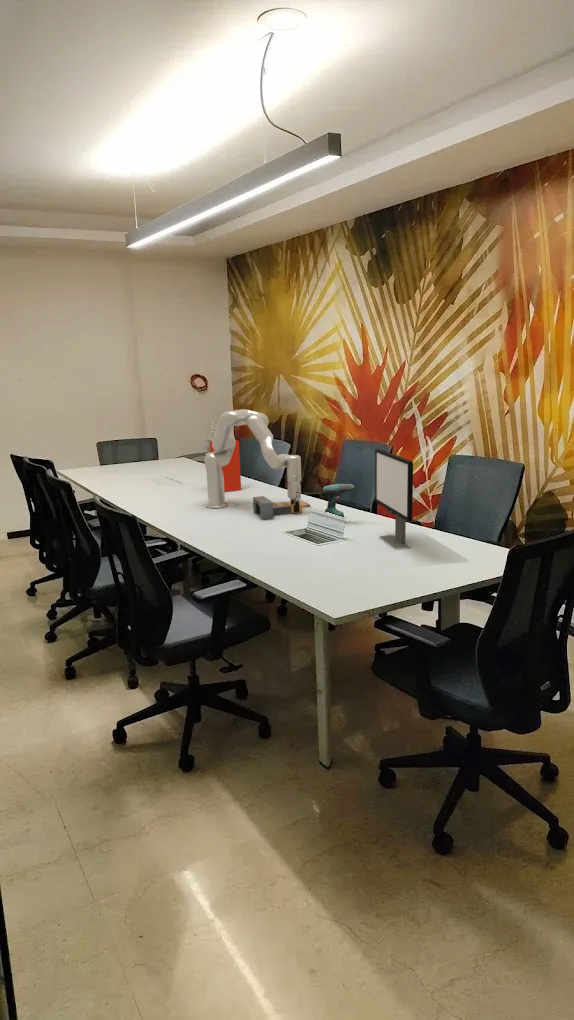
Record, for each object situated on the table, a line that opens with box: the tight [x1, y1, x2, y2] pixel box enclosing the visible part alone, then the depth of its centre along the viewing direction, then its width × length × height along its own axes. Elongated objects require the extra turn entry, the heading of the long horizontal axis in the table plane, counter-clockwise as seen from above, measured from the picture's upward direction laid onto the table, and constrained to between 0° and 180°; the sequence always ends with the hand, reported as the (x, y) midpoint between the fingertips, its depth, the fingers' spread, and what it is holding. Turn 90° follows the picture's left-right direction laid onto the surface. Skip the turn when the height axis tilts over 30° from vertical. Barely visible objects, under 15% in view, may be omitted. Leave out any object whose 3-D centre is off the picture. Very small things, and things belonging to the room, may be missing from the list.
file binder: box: [208, 439, 242, 493], centre depth 419 cm, size 8×17×32 cm, turn 111°
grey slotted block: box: [252, 495, 274, 521], centre depth 351 cm, size 6×18×9 cm, turn 18°
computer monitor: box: [374, 448, 414, 551], centre depth 290 cm, size 41×8×40 cm, turn 12°
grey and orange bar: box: [273, 503, 305, 516], centre depth 354 cm, size 23×4×4 cm, turn 108°
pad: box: [273, 499, 311, 508], centre depth 372 cm, size 26×14×1 cm, turn 108°
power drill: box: [322, 483, 355, 518], centre depth 332 cm, size 7×16×20 cm, turn 70°
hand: (295, 510), depth 357 cm, fingers closed on grey and orange bar, 4 cm apart
